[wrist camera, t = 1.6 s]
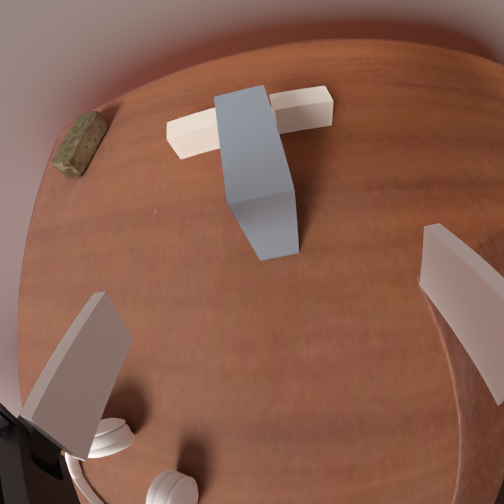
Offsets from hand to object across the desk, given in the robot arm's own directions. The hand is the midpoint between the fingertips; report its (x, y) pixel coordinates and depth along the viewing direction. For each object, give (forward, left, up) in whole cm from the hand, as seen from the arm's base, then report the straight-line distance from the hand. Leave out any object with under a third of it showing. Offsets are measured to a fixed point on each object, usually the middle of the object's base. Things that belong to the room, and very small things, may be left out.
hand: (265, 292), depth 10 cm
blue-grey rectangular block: (0, -11, -17) cm, 20 cm away
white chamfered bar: (0, -23, -17) cm, 29 cm away
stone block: (+28, -31, -17) cm, 45 cm away
